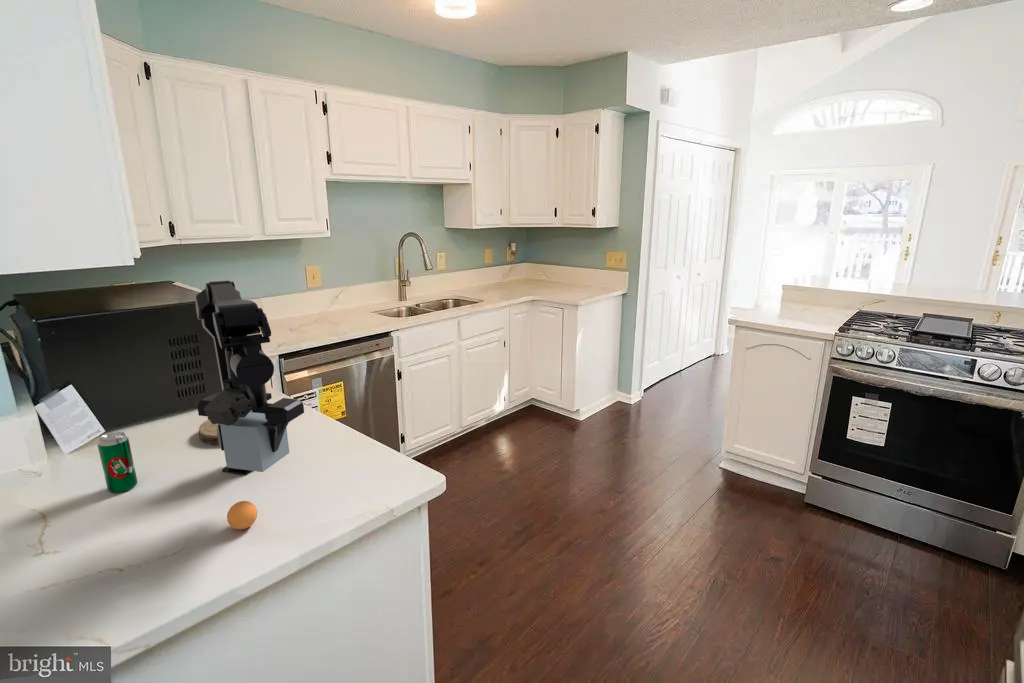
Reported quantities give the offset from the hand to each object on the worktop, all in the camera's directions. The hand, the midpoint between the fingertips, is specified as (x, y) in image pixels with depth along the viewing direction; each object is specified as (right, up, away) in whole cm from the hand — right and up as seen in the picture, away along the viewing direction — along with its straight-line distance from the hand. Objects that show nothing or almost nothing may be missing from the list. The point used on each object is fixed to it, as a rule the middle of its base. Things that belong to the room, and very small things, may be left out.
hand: (256, 449), depth 95 cm
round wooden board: (-25, -4, +37) cm, 45 cm away
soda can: (-34, -11, +10) cm, 37 cm away
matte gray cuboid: (0, -2, +1) cm, 2 cm away
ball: (-1, -12, -2) cm, 12 cm away
